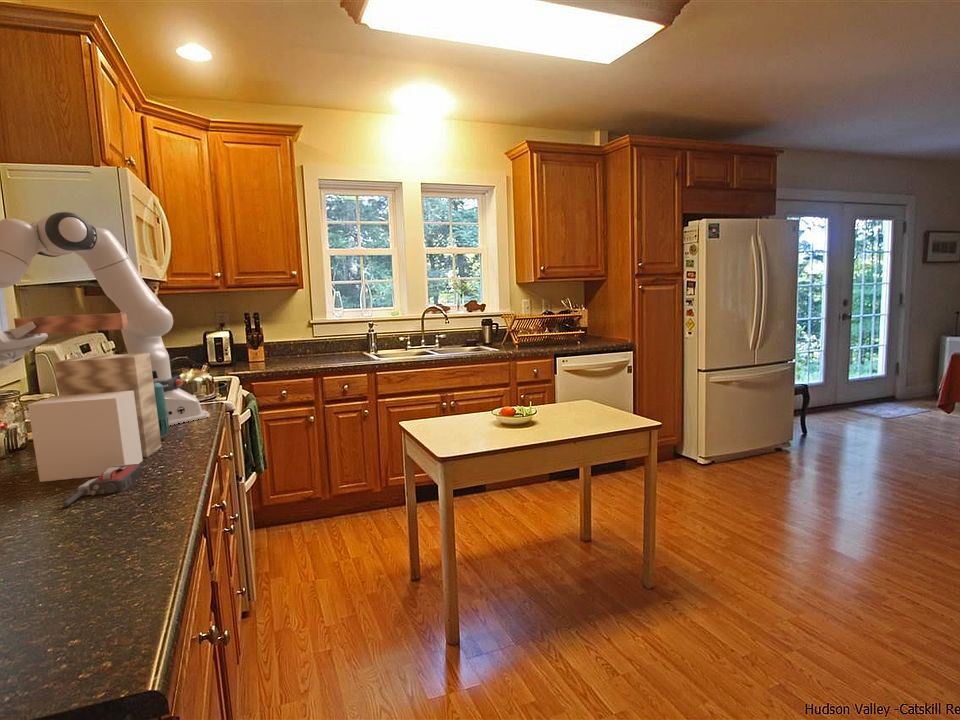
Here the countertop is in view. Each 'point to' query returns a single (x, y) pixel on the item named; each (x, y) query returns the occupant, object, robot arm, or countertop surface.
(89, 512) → the countertop surface
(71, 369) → the stand
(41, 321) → the stick
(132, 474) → the walkie-talkie
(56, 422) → the plain white box
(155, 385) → the beverage bottle
